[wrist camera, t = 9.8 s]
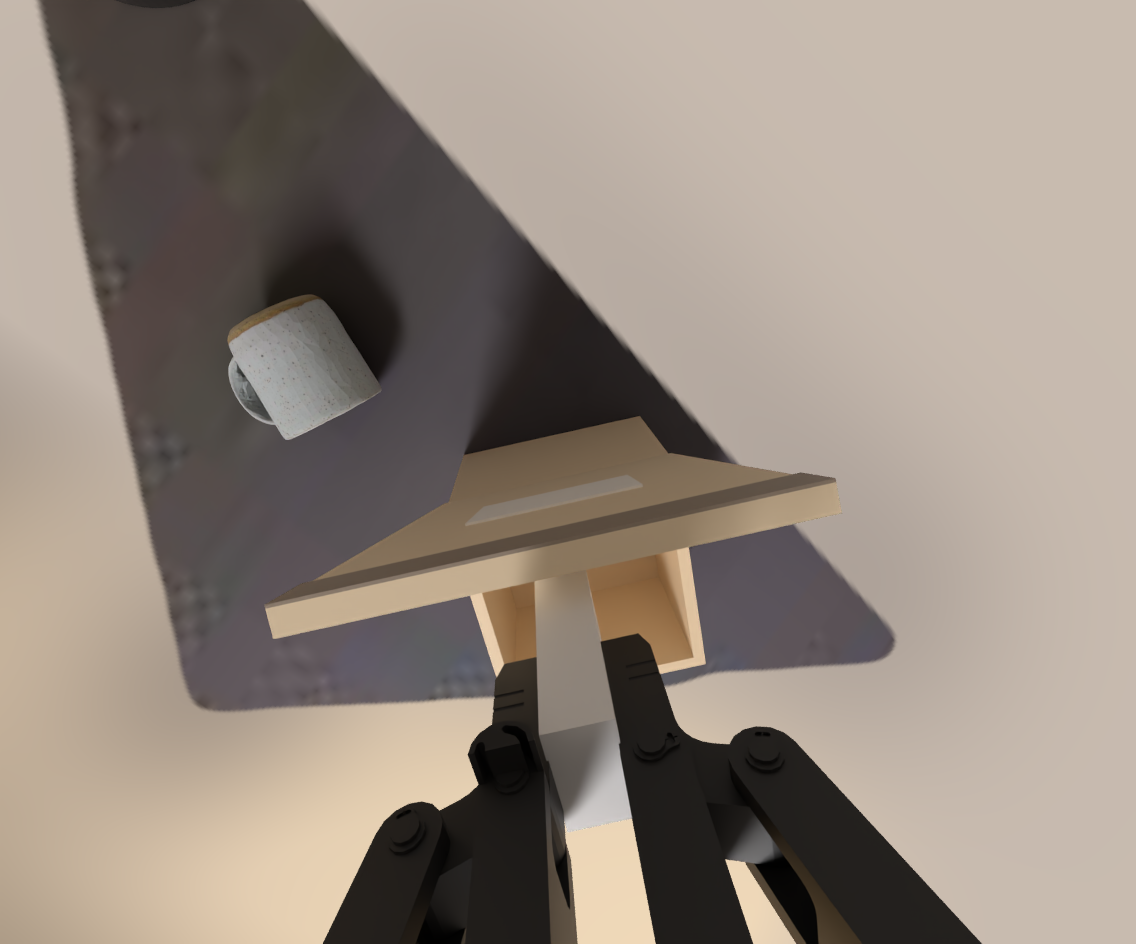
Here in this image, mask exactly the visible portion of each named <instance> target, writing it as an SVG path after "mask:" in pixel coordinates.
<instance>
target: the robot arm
mask: <svg viewBox="0 0 1136 944" xmlns="http://www.w3.org/2000/svg"><path fill="white" fill-rule="evenodd" d="M116 1H119V2H122V3H126V4H130V5H135V6H140V7H150V8H165V7H173V6H179V5H183V4H186V3H189V2H192V1H195V0H116ZM535 615H536V651H537V657H534V658H529V659H525V660H520V661H516V662H511V663H506V664H504V665H503V667H502V669H501V671H500V673H499V674H498V676H497V678H496V680H495V692H494V697H495V699H494V707H493V710H494V712H493V720H492V725H491V726H489V727H488V728H486V729H485V730H484V731H482V732H481V733H480V734H479V735H478V736H477V737H476V738H475V740H474V741H473V742H472V744H471V747H470V750H469V753H468V757H469V759H470V762H471V765H472V768H473V770H474V773H475V776H476V779H477V781H478V784H479V785H478V786H477V787H476V788H475V789H474V790H473V791H472V792H471V793H470V794H468V795H467V796H465V797H464V798H462V799H461V800H459V801H457V802H455V803H453V804H451V805H449V806H448V807H446V808H444V809H442V810H440V811H439V810H438V809H437V808H436V807H435V806H434V805H433V804H430V803H425V802H417V803H411V804H408V805H406V806H404V807H402V808H400V809H399V810H396V811H395V812H394V813H393V814H392V815H391V816H390V817H389V818H387V819H386V820H385V821H384V823H383V824H382V826H381V827H380V829H379V830H378V832H377V833H376V835H375V837H374V839H373V841H372V843H371V845H370V847H369V849H368V851H367V853H366V856H365V857H364V860H363V862H362V864H361V866H360V868H359V870H358V872H357V874H356V876H355V878H354V880H353V882H352V884H351V886H350V888H349V891H348V893H347V895H346V897H345V899H344V901H343V903H342V905H341V907H340V909H339V911H338V913H337V916H336V917H335V920H334V921H333V924H332V926H331V928H330V930H329V932H328V934H327V936H326V938H325V940H324V942H323V944H577V932H576V918H575V906H574V893H573V881H572V868H571V859H570V855H569V851H568V848H567V845H566V839H565V826H564V821H565V825H566V828H567V832H571V831H576V830H581V829H586V828H590V827H595V826H599V825H604V824H608V823H613V822H618V821H622V820H627V819H632V821H633V826H634V831H635V837H636V842H637V847H638V852H639V857H640V863H641V868H642V873H643V879H644V884H645V889H646V894H647V900H648V905H649V910H650V915H651V920H652V926H653V931H654V936H655V942H656V944H753V942H752V939H751V936H750V933H749V930H748V927H747V924H746V921H745V918H744V915H743V912H742V909H741V906H740V903H739V900H738V897H737V894H736V891H735V888H734V885H733V882H732V879H731V876H730V873H729V870H728V867H727V864H726V861H725V859H727V860H735V861H741V862H745V863H746V865H747V867H748V868H749V870H750V871H751V873H752V875H753V876H754V878H755V879H756V881H757V882H758V884H759V885H760V887H761V889H762V890H763V892H764V894H765V895H766V897H767V898H768V900H769V901H770V903H771V905H772V906H773V908H774V909H775V911H776V912H777V914H778V916H779V917H780V919H781V920H782V922H783V923H784V925H785V927H786V928H787V930H788V931H789V933H790V934H791V936H792V937H793V939H794V941H795V942H796V944H981V942H980V941H979V940H978V939H977V938H976V937H975V936H974V935H973V934H972V933H971V932H970V931H969V929H968V928H967V927H966V926H965V925H964V924H963V923H962V922H961V921H960V920H959V918H958V917H957V916H956V915H955V914H954V913H953V912H952V911H951V910H950V909H949V908H948V907H947V905H946V904H945V903H943V901H942V900H941V899H940V898H939V897H938V896H937V895H936V894H935V892H933V890H932V889H931V888H930V887H929V886H928V885H927V884H926V883H925V882H924V881H923V879H922V878H921V877H920V876H919V875H918V874H917V873H916V872H915V871H914V870H913V869H912V868H911V867H910V866H909V864H908V863H907V862H906V861H905V860H904V859H903V858H902V857H901V856H900V855H899V854H898V852H897V851H896V850H895V849H894V848H893V847H892V846H891V845H890V844H889V843H888V842H887V841H886V839H885V838H884V837H883V836H882V835H881V834H880V833H879V832H878V831H877V830H876V829H875V828H874V826H873V825H872V824H871V823H870V822H869V821H868V820H867V819H866V818H865V817H864V816H863V814H862V813H861V812H859V810H858V809H857V808H856V807H855V806H854V805H853V804H852V803H851V801H850V800H849V799H847V797H846V796H845V795H844V794H843V793H842V792H841V791H840V790H839V789H838V787H837V786H836V785H835V784H834V783H833V782H832V781H831V780H830V779H829V778H828V777H827V775H826V774H825V773H824V772H823V771H822V770H821V769H820V768H819V767H818V766H817V765H816V764H815V762H814V761H813V760H812V759H811V758H810V757H809V756H808V755H807V754H806V753H805V752H804V751H803V750H802V748H801V747H800V746H799V745H798V744H797V743H796V742H795V741H794V740H793V739H791V738H790V737H789V736H788V735H786V734H785V733H784V732H781V731H779V730H776V729H773V728H770V727H752V728H748V729H744V730H742V731H741V732H740V733H738V734H737V735H735V736H734V737H733V739H732V741H731V743H730V744H716V743H715V744H714V743H707V742H702V741H700V740H697V739H695V738H692V737H691V736H689V735H688V734H686V733H685V732H684V731H683V730H682V729H681V728H680V727H679V726H678V724H677V722H676V720H675V717H674V715H673V711H672V708H671V705H670V703H669V699H668V696H667V693H666V690H665V687H664V684H663V681H662V678H661V675H660V672H659V669H658V666H657V663H656V660H655V657H654V654H653V651H652V648H651V645H650V644H649V643H648V642H647V641H646V640H645V639H644V638H643V637H642V636H641V635H640V634H638V633H637V634H633V635H628V636H623V637H619V638H614V639H610V640H605V641H602V640H601V635H600V630H599V625H598V621H597V616H596V612H595V608H594V603H593V599H592V594H591V590H590V585H589V581H588V577H587V572H586V570H583V571H579V572H574V573H570V574H565V575H561V576H556V577H552V578H547V579H543V580H538V581H535Z"/></svg>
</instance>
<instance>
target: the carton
mask: <svg viewBox="0 0 1136 944" xmlns="http://www.w3.org/2000/svg"><path fill="white" fill-rule="evenodd" d="M665 454H668V453H667V451H666V450H665V449H664V447H663V446H662V445H661V443H660V442H659V441H658V439H657V438H656V437H655V435H654V434H653V433H652V431H651V430H650V429H649V427H648V426H647V425H646V423H645V422H644V421H643V420H642V418H641V417H640V416H637V417H633V418H628V419H624V420H619V421H615V422H610V423H606V424H601V425H597V426H592V427H588V428H583V429H579V430H574V431H570V432H565V433H561V434H556V435H552V436H548V437H543V438H539V439H534V440H530V441H525V442H521V443H516V444H512V445H507V446H503V447H498V448H494V449H489V450H485V451H480V452H476V453H471V454H467V455H464V456H463V459H462V463H461V466H460V469H459V472H458V475H457V478H456V481H455V484H454V488H453V491H452V494H451V497H450V500H449V502H454V501H458V500H463V499H467V498H472V497H476V496H481V495H485V494H490V493H494V492H499V491H503V490H508V489H512V488H517V487H521V486H526V485H530V484H535V483H539V482H544V481H548V480H553V479H557V478H562V477H566V476H571V475H575V474H580V473H584V472H588V471H593V470H597V469H602V468H606V467H611V466H615V465H620V464H624V463H629V462H633V461H638V460H642V459H647V458H651V457H656V456H660V455H665ZM586 572H587V577H588V581H589V585H590V590H591V594H592V599H593V603H594V608H595V612H596V616H597V621H598V625H599V630H600V635H601V640H602V641H605V640H610V639H614V638H619V637H623V636H628V635H633V634H637V633H638V634H640V635H641V636H642V637H643V638H644V639H645V640H646V641H647V642H648V643H649V644H650V645H651V648H652V651H653V654H654V657H655V660H656V663H657V666H658V669H659V672H660V674H662V673H667V672H671V671H676V670H680V669H685V668H689V667H694V666H698V665H703V664H706V663H705V656H704V649H703V642H702V635H701V628H700V622H699V615H698V608H697V601H696V594H695V588H694V581H693V574H692V567H691V560H690V554H689V547H687V548H683V549H678V550H674V551H669V552H665V553H660V554H656V555H651V556H647V557H642V558H638V559H633V560H629V561H624V562H620V563H615V564H611V565H606V566H601V567H597V568H592V569H588V570H586ZM470 597H471V600H472V603H473V606H474V609H475V612H476V615H477V618H478V621H479V624H480V628H481V631H482V634H483V637H484V640H485V643H486V646H487V649H488V652H489V655H490V658H491V662H492V665H493V668H494V671H495V674H496V677H497V676H498V674H499V673H500V671H501V669H502V667H503V665H504V664H506V663H511V662H516V661H520V660H525V659H529V658H534V657H537V651H536V615H535V581H534V582H529V583H525V584H520V585H516V586H511V587H507V588H502V589H498V590H493V591H489V592H484V593H480V594H475V595H471V596H470Z"/></svg>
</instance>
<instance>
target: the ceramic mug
mask: <svg viewBox="0 0 1136 944" xmlns="http://www.w3.org/2000/svg"><path fill="white" fill-rule="evenodd" d="M227 340H228V344H229V347H230V350H231V352H232V354H233V356H234V357H233V358H232V360H231V362H230V364H229V380H230V383H231V386H232V389H233V391H234V393H235V395H236V397H237V399H238V400H239V402H240V403H241V405H242V406H243V407H244V408H245V410H246V411H247V412H248V413H249V414H251V415H252V416H253V417H254V418H256V419H257V420H259V421H261V422H264V423H267V424H272V425H276V426H277V428H278V430H279V431H280V433H281V434H282V436H283V437H284V438H285V439H286V440H289V439H292V438H294V437H296V436H299V435H301V434H303V433H306V432H307V431H309V430H311V429H313V428H315V427H317V426H319V425H321V424H323V423H325V422H327V421H329V420H331V419H333V418H335V417H337V416H339V415H341V414H343V413H345V412H347V411H349V410H351V409H352V408H354V407H356V406H357V405H359V404H361V403H363V402H365V401H366V400H368V399H370V398H371V397H373V396H375V395H376V394H378V393H379V392H381V386H380V384H379V383H378V381H377V380H376V378H375V376H374V375H373V373H372V372H371V370H370V369H369V367H368V365H367V364H366V362H365V361H364V359H363V357H362V356H361V354H360V353H359V351H358V349H357V348H356V346H355V345H354V343H353V342H352V340H351V339H350V337H349V336H348V334H347V333H346V331H345V329H344V327H343V326H342V324H341V322H340V321H339V319H338V317H337V316H336V315H335V313H334V312H333V311H332V310H331V308H330V307H329V306H328V305H327V304H326V303H325V301H323V300H322V299H321V298H320V297H317V296H315V295H302V296H298V297H294V298H291V299H288V300H285V301H283V302H280V303H278V304H275V305H273V306H270V307H268V308H266V309H264V310H262V311H260V312H258V313H256V314H253V315H251V316H250V317H248V318H246V319H245V320H243V321H242V322H240V323H239V324H237V325H236V326H234V327H233V328H232V329H231V330H230V332H229V335H228V339H227Z"/></svg>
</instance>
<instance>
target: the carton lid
mask: <svg viewBox="0 0 1136 944" xmlns="http://www.w3.org/2000/svg"><path fill="white" fill-rule="evenodd" d="M841 513H842V511H841V506H840V500H839V495H838V490H837V485H836V479H835V478H830V477H824V476H819V475H812V474H805V473H797V474H787V473H781V472H776V471H770V470H764V469H759V468H753V467H747V466H741V465H736V464H730V463H724V462H719V461H713V460H707V459H702V458H696V457H690V456H685V455H679V454H673V453H669V454H665V455H660V456H656V457H651V458H647V459H642V460H638V461H633V462H629V463H624V464H620V465H615V466H611V467H606V468H602V469H597V470H593V471H588V472H584V473H580V474H575V475H571V476H566V477H562V478H557V479H553V480H548V481H544V482H539V483H535V484H530V485H526V486H521V487H517V488H512V489H508V490H503V491H499V492H494V493H490V494H485V495H481V496H476V497H472V498H467V499H463V500H458V501H454V502H449V503H445V504H443V505H441V506H439V507H438V508H436V509H434V510H433V511H431V512H429V513H427V514H426V515H424V516H422V517H421V518H419V519H417V520H416V521H414V522H412V523H410V524H409V525H407V526H405V527H404V528H402V529H400V530H399V531H397V532H395V533H393V534H392V535H390V536H388V537H387V538H385V539H383V540H382V541H380V542H378V543H376V544H375V545H373V546H371V547H370V548H368V549H366V550H364V551H363V552H361V553H359V554H358V555H356V556H354V557H353V558H351V559H349V560H347V561H346V562H344V563H342V564H341V565H339V566H337V567H336V568H334V569H332V570H330V571H329V572H327V573H325V574H324V575H322V576H320V577H319V578H317V579H315V580H313V581H310V582H306V583H302V584H300V585H298V586H296V587H295V588H293V589H291V590H289V591H288V592H286V593H284V594H283V595H281V596H279V597H277V598H276V599H274V600H272V601H270V602H269V603H267V604H265V609H266V613H267V617H268V620H269V624H270V628H271V632H272V636H273V639H276V638H281V637H285V636H290V635H295V634H299V633H304V632H308V631H313V630H317V629H322V628H326V627H331V626H335V625H340V624H344V623H349V622H353V621H358V620H362V619H367V618H371V617H376V616H380V615H385V614H389V613H394V612H398V611H403V610H407V609H412V608H416V607H421V606H425V605H430V604H434V603H439V602H443V601H448V600H453V599H457V598H462V597H466V596H471V595H475V594H480V593H484V592H489V591H493V590H498V589H502V588H507V587H511V586H516V585H520V584H525V583H529V582H534V581H538V580H543V579H547V578H552V577H556V576H561V575H565V574H570V573H574V572H579V571H583V570H588V569H592V568H597V567H601V566H606V565H611V564H615V563H620V562H624V561H629V560H633V559H638V558H642V557H647V556H651V555H656V554H660V553H665V552H669V551H674V550H678V549H683V548H687V547H692V546H696V545H701V544H705V543H710V542H714V541H719V540H723V539H728V538H732V537H737V536H741V535H746V534H750V533H755V532H760V531H764V530H769V529H773V528H778V527H782V526H787V525H791V524H796V523H800V522H805V521H809V520H814V519H818V518H822V517H827V516H831V515H836V514H841Z"/></svg>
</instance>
